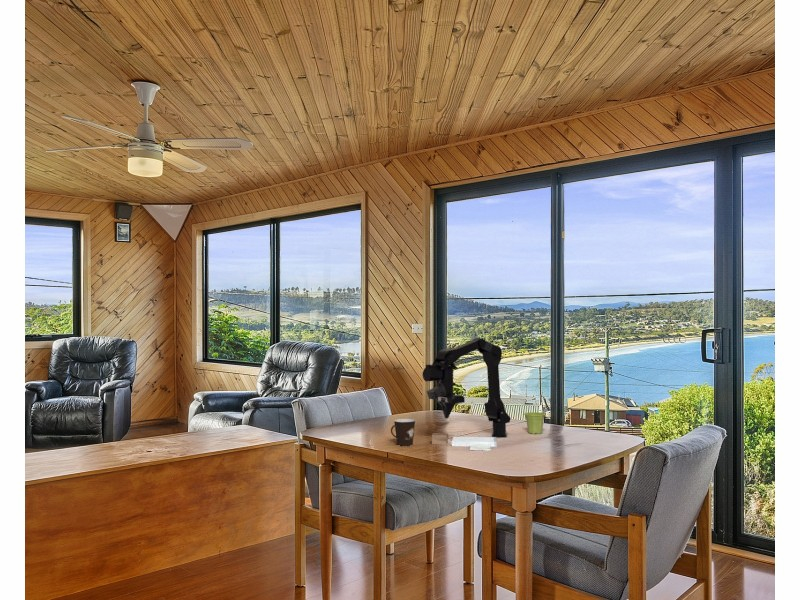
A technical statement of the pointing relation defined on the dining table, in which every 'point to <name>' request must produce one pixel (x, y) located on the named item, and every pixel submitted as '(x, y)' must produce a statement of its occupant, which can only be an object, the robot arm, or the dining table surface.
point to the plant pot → (534, 422)
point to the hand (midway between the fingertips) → (446, 418)
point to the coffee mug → (404, 431)
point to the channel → (474, 441)
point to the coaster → (480, 447)
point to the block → (440, 438)
